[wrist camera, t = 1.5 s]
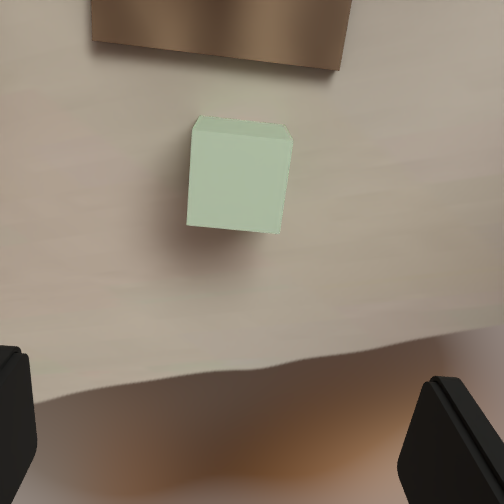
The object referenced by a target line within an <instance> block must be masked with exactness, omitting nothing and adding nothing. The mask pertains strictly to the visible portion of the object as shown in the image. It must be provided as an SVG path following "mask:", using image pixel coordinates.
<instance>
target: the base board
mask: <svg viewBox="0 0 504 504" xmlns="http://www.w3.org/2000/svg"><path fill="white" fill-rule="evenodd" d="M351 3H352V0H91V6H92V41H100V42H109V43H117V44H125V45H133V46H141V47H150V48H158V49H166V50H174V51H182V52H190V53H199V54H207V55H215V56H223V57H231V58H240V59H248V60H256V61H264V62H272V63H280V64H289V65H297V66H305V67H313V68H321V69H330V70H338V71H339V70H340V64H341V59H342V53H343V47H344V42H345V36H346V31H347V25H348V19H349V14H350V8H351Z"/></svg>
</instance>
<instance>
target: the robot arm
mask: <svg viewBox="0 0 504 504" xmlns="http://www.w3.org/2000/svg"><path fill="white" fill-rule="evenodd" d="M36 448H37V433H36V423H35V413H34V404H33V394H32V384H31V374H30V365H29V357H28V355H27V354H23V353H21V349H20V348H19V347H17V346H3V345H0V504H11V503H12V501H13V499H14V497H15V495H16V493H17V491H18V489H19V487H20V485H21V483H22V481H23V479H24V477H25V475H26V473H27V470H28V468H29V466H30V464H31V462H32V460H33V458H34V456H35V453H36ZM397 471H398V476H399V479H400V482H401V484H402V487H403V489H404V492H405V495H406V497H407V500H408V502H409V504H504V443H503V442H502V440H501V439H500V437H499V435H498V434H497V432H496V431H495V430H494V428H493V427H492V425H491V424H490V422H489V421H488V419H487V418H486V416H485V415H484V413H483V412H482V410H481V409H480V407H479V406H478V404H477V403H476V402H475V400H474V399H473V397H472V396H471V394H470V393H469V391H468V390H467V388H466V387H465V385H464V384H463V383H462V381H461V380H460V379H459V378H456V377H441V376H433V377H432V378H431V379H430V381H429V382H425V383H424V384H423V386H422V389H421V392H420V396H419V398H418V401H417V404H416V407H415V410H414V413H413V416H412V419H411V422H410V425H409V428H408V431H407V434H406V437H405V440H404V443H403V447H402V449H401V452H400V455H399V458H398V462H397Z"/></svg>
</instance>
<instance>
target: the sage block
mask: <svg viewBox="0 0 504 504" xmlns="http://www.w3.org/2000/svg"><path fill="white" fill-rule="evenodd" d="M292 147H293V139H292V137H291V136H290V134H289V132H288V130H287V129H286V127H285V125H281V124H272V123H263V122H254V121H245V120H236V119H227V118H219V117H210V116H201V115H200V116H199V118H198V120H197V122H196V123H195V125H194V127H193V129H192V140H191V157H190V174H189V191H188V208H187V225H190V226H200V227H211V228H221V229H231V230H242V231H252V232H263V233H273V234H280V228H281V221H282V214H283V208H284V201H285V194H286V187H287V181H288V174H289V167H290V161H291V154H292Z"/></svg>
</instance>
